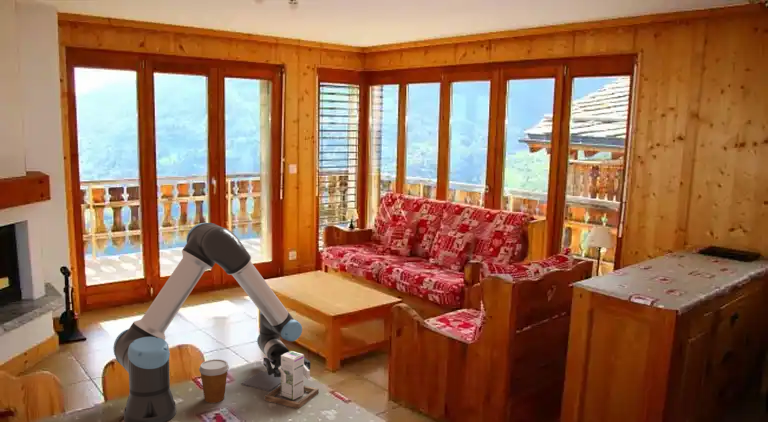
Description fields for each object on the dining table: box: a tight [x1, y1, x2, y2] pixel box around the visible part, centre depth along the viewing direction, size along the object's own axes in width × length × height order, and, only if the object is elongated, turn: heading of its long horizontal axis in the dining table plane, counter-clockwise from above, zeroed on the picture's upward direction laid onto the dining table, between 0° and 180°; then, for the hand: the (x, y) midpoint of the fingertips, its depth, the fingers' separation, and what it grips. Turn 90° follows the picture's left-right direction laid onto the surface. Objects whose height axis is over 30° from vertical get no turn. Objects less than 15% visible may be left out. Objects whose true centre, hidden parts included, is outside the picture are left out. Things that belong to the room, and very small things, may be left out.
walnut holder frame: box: [264, 385, 320, 409], centre depth 200 cm, size 13×13×2 cm
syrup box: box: [280, 350, 305, 401], centre depth 199 cm, size 6×6×14 cm
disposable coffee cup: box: [198, 358, 230, 404], centre depth 196 cm, size 10×10×12 cm
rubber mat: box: [240, 370, 281, 392], centre depth 211 cm, size 12×12×1 cm
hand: (296, 376), depth 194 cm, fingers closed on syrup box, 7 cm apart
